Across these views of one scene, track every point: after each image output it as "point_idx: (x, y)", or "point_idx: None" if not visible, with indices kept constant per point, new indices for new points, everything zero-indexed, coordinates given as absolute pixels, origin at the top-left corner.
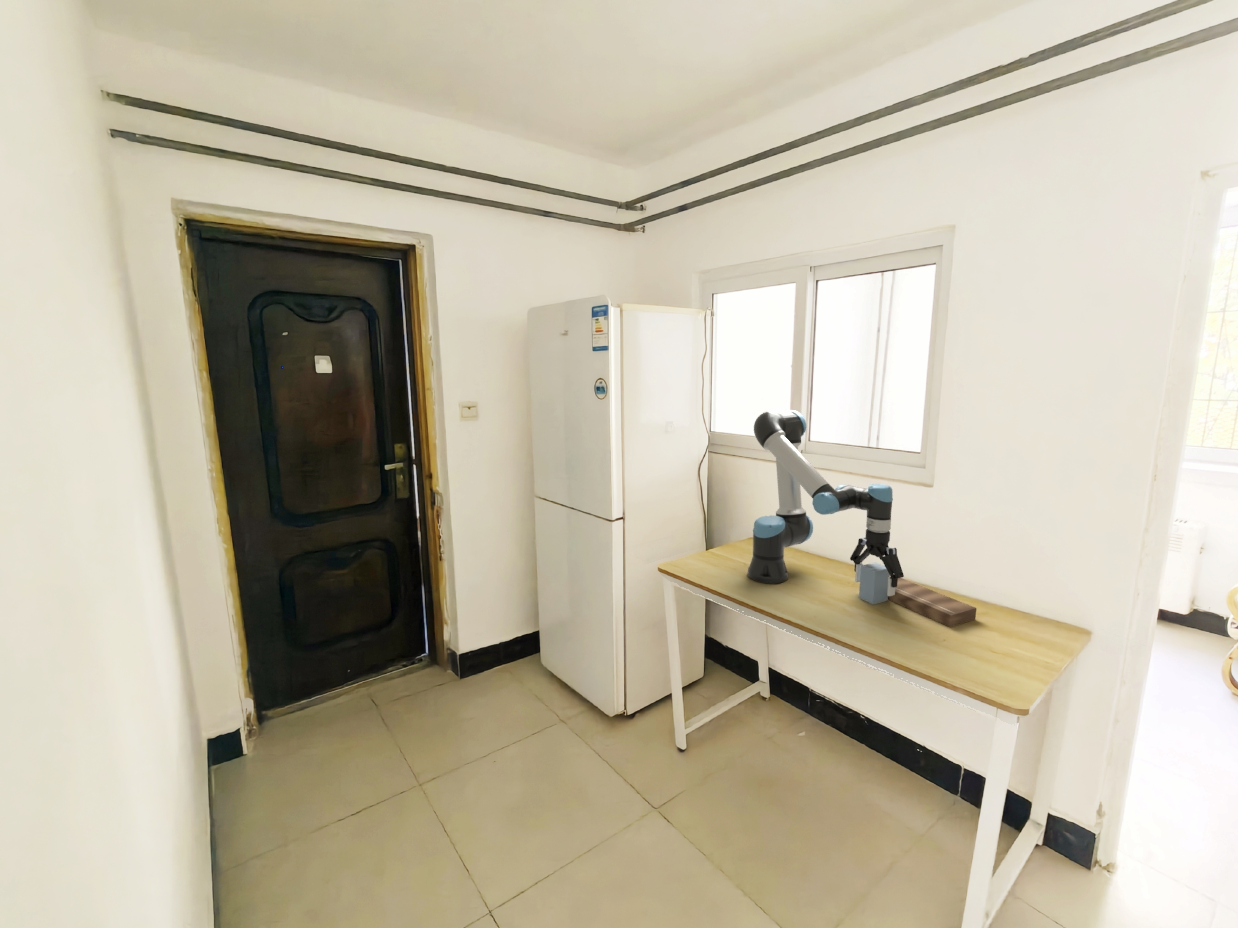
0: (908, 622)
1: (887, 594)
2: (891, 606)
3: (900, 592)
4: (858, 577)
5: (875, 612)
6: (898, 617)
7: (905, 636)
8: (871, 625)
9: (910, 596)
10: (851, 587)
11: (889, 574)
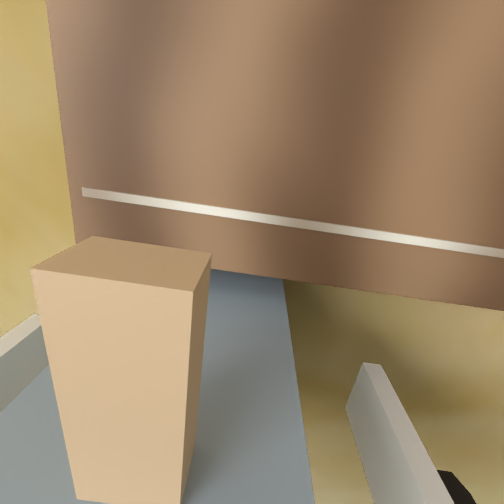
0: (473, 392)
1: (349, 415)
2: (333, 304)
3: (386, 275)
4: (25, 386)
5: (316, 410)
6: (417, 383)
7: (496, 483)
8: (364, 492)
9: (487, 282)
10: (24, 254)
11: (308, 469)
